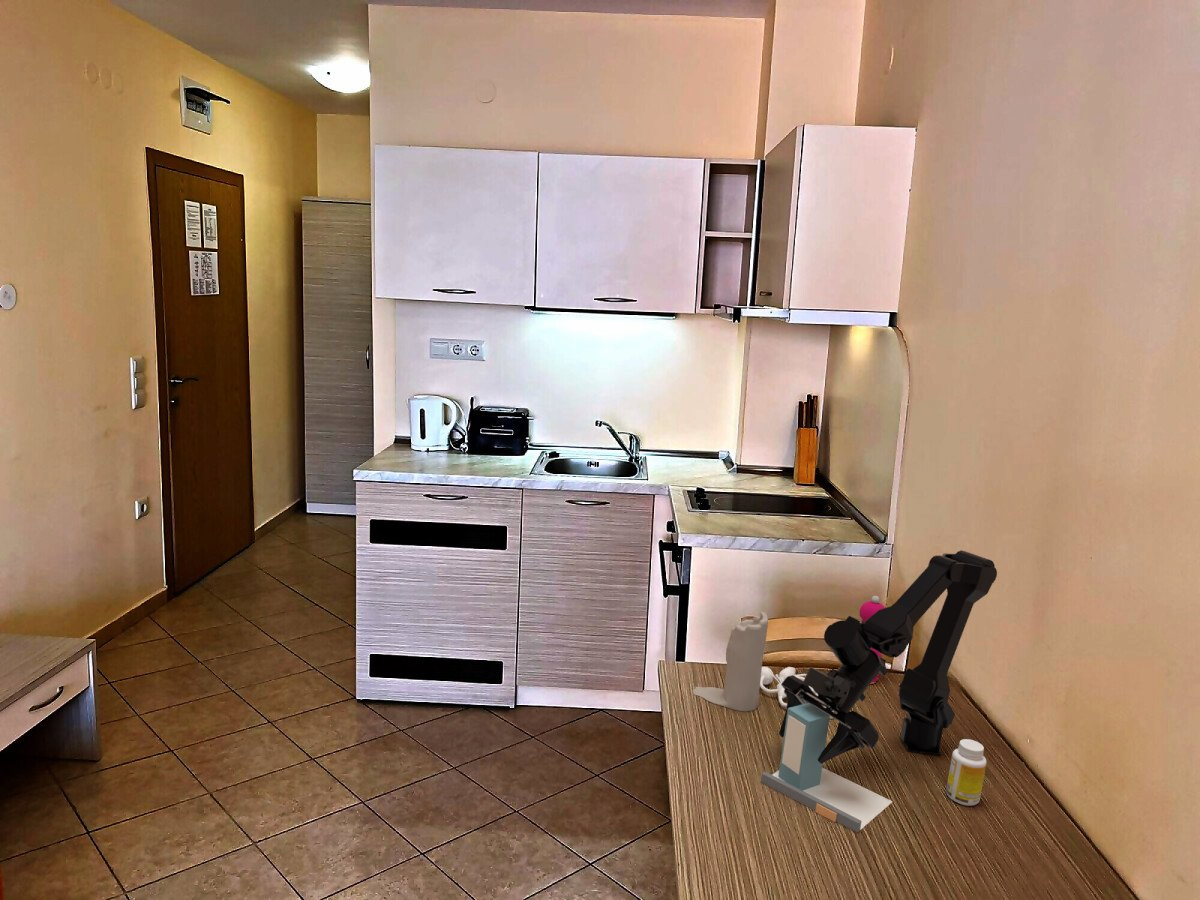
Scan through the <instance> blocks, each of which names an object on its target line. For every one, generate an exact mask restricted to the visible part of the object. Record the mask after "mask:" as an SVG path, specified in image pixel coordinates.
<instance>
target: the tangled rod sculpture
mask: <svg viewBox="0 0 1200 900" xmlns="http://www.w3.org/2000/svg"><path fill="white" fill-rule="evenodd" d="M796 672H797V671H796V668H795V667H791V666H787V667H786V668H783V669H782V670H780V672H779V674H777V673H776V674H774V672H773V671H772V669H771V668H770V667H767V666H762V671H761V681H760V689H762V690H763V691H764V692H765V693H768V694H775V693H777V697H778V703H779V704H780V705H781V706H782V707H785V708H787V703H786V702H784V701H783V700H784V699H787V696H786V695H785V693H784V688H783V687H782V685H781V684H782V682H783V681H784V680H785V679H786V677H788V676H792V675H793V676H795V677H797V678H799V679H800V680H802V681H804V679H805V677H806V675H807V673H802V674H800V673H799V674H796ZM774 679H775V681H776V682H777V683H778V684H777V685H776V688H775V689H774V688H773V689H768V688H767V687H765V685H769V684H771V683H772V681H773V680H774ZM809 687H810V686H809ZM810 689H811V690H812V691H813V693H814V694H815V695H817V696H818V694H817V693H816V692H815V691H814V690H813V688H812V687H810ZM822 706H823V705H822ZM823 707H825V706H823ZM825 708H826V707H825ZM832 712H834V711H832ZM834 713H835V712H834ZM829 719H833V718H832V717H831V716H830V718H829Z"/></svg>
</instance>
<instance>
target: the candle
mask: <svg viewBox="0 0 1200 900" xmlns="http://www.w3.org/2000/svg"><path fill="white" fill-rule="evenodd" d="M768 625H769V617H768V615H767V614H766V612H765V611H761V612H760V614H759V616H758V615H754V616H753V619H745V620H742V621H741V622H740V623H739V624H737V625H735V626H734V627H733V628H732V629H731V632H730V636H729V638H728V642H727V646H726V651H725V661H726V669H725V670H726V671H725V677H724V685H723V688H719V687H713V686H707V687H706V686H705V687H704V686H703V687H702V686H695V687H694V689H693V690H692V693H693V694H694V695H695V696H697V697H701V698H702V699H703V700H705V701H707V702H709V703H712V704H714V705H718V706H722V707H724V708H727V709H732V710H734V711H737V712H738V711H739V712H751V711H754V710H756V709H757V708H758V702H759V696H760V689H761V687H760V681H761V671H762V667H763V662H764V661H763V660H764V653H765V648H766V643H767V642H766V641H767V633H768Z"/></svg>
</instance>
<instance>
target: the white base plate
mask: <svg viewBox="0 0 1200 900" xmlns="http://www.w3.org/2000/svg"><path fill="white" fill-rule="evenodd" d="M778 775H779V769H778V770H777V771H775V772H774V773H772V774H771V773H769V772H766V771H764V772H763V773H762V774H761V778H760V779H761V781H760V783H761V784H763V785H765V786H767V787H769V788H771V789H773V790H775V791H777V792H778V793H781V794H783V795H784V796H787V798H790V799H792V800H794V801H796V802H797V803H800V804H802V805H804V806H805V807H807V808H809V809H811V810H813V811H815V810H816V804H817V803H818V804H820V805H822V806H824V807H825V808H827V809H829V810H831V811H833V812H835V813H837V818H836V822H835V823H838V824H839V825H842V826H844V827H845V828H847V829H850V830H851V831H853V832H855V833H859V832H860V831H861V830H862V829H863V828H865V826H867V825H868V824H869V823H870V822H872V820H873V819H875V818H876V817H877V816H879V814H881V812H883V811H884V810H885V809H886V808H888V806H890V805H891V804H892V803H893V801H892V800H890V799H888V798H886V797H884V796H882V795H880V794H877V793H876V792H874V791H872V790H870V789H867V788H865V786H861V785H859V784H857V783H856V782H853V781H851V780H849V779H847V778H845V777H843V776H841V775H839V774H837V773H834V772H832V771H831V770H829V769H826V768H824V767H822V772H821V779H820V785H817V786H814V787H811V788H809V789H806V790H803V791H802V790H800V789H798V788H796V787H794V786H792V785H790V784H788V783H786V782H785V781H784V780H782V779H781V778H779V777H778Z"/></svg>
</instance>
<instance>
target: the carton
mask: <svg viewBox="0 0 1200 900" xmlns="http://www.w3.org/2000/svg"><path fill="white" fill-rule="evenodd" d="M830 719H831V718H830V716H829V715H828V714H826V713H824V712H823V711H821V710H819V709H818V708H816V707H814V706H813V705H811V704H810V703H806V704H802V705H798V706H795V707H791V708H788V710H787V718H786V725H785V732H784V737H783V738H782V739H783V740H782V749H781V756H780V761H779V762H780V763H779V769H778V770H779V775H778V777H779V778H781V779H782V780H784V781H785V782H786V783H788V784H790V785H792V786H794V787H796V788H798V789H800V790H802V791H803V790H806V789H809V788H811V787H814V786H817V785H820V779H821V772H822V768H823V765H824V763H822V764H821V763H819V762H818V758H819V756H820V754H821V753H822V751H823V750H824V749H825V747H826V746H827V744H826V743H827V738H828V730H829V723H830Z"/></svg>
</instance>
